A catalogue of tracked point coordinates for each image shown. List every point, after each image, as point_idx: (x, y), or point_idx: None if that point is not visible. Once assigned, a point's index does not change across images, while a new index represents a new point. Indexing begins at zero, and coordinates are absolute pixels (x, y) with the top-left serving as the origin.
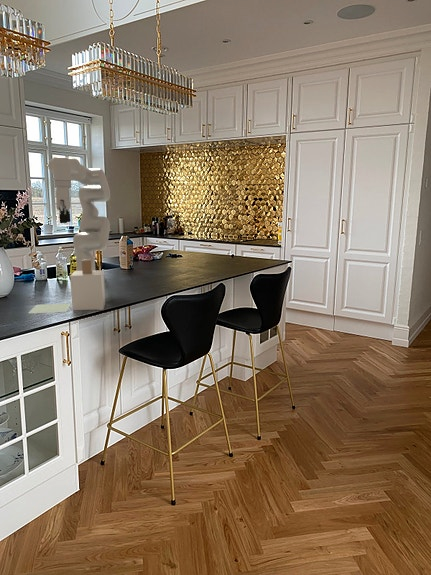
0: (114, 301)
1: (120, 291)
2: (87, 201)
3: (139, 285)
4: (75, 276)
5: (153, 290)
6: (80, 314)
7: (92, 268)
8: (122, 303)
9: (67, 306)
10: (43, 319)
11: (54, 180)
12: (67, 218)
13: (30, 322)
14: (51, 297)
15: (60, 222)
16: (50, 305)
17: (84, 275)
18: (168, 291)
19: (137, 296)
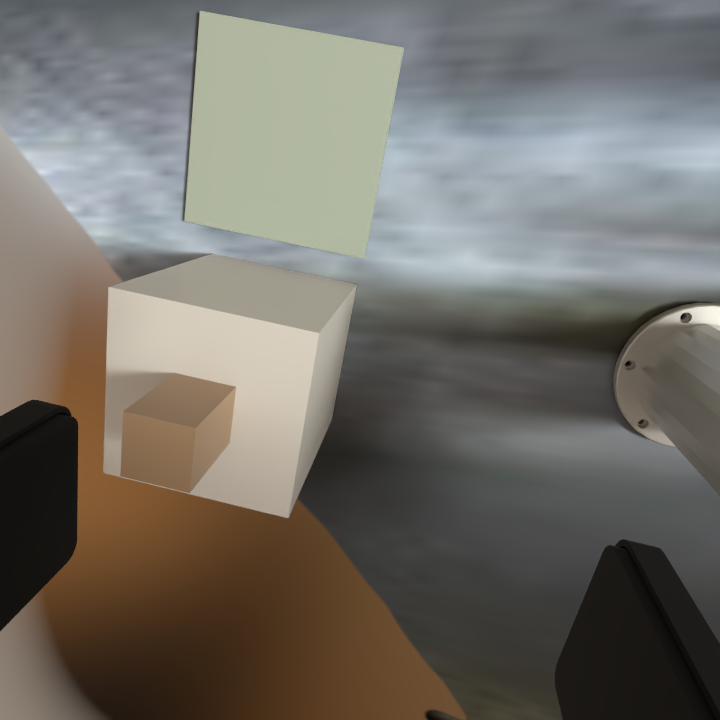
0: (352, 463)
1: (586, 536)
2: None
3: None
4: (109, 319)
5: (530, 671)
6: None
7: (711, 484)
8: None
9: (297, 233)
10: (84, 106)
11: None
12: (600, 711)
13: (41, 41)
14: (611, 142)
15: (31, 416)
16: (352, 138)
17: (106, 377)
18: (474, 713)
19: (422, 576)
